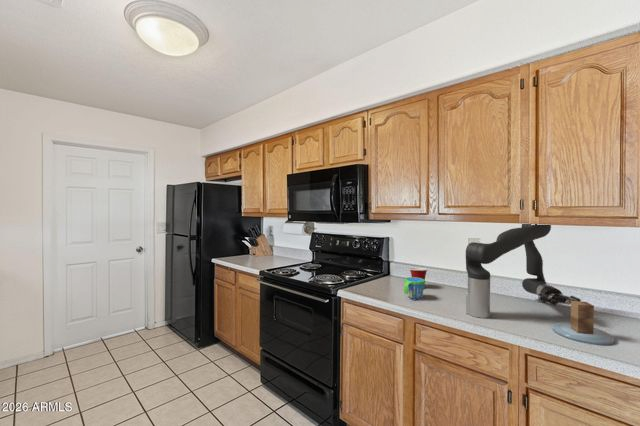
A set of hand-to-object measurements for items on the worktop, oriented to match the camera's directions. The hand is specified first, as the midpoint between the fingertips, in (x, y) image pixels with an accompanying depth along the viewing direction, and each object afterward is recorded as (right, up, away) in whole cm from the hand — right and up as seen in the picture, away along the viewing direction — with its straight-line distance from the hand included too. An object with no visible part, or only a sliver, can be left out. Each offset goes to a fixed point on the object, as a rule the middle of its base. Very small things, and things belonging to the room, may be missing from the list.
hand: (567, 304), depth 126 cm
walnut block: (-3, -7, -10) cm, 13 cm away
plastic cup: (-44, -8, +59) cm, 74 cm away
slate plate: (-3, -9, -10) cm, 14 cm away
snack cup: (-53, -8, +37) cm, 65 cm away
